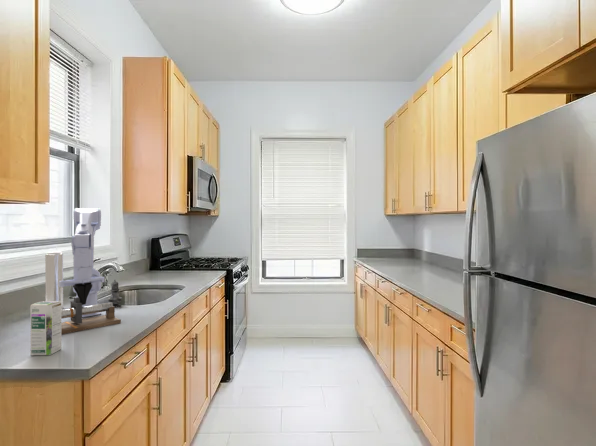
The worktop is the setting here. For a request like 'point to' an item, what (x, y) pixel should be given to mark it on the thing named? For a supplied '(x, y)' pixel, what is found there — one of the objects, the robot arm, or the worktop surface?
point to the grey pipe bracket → (77, 310)
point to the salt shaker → (115, 294)
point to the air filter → (54, 276)
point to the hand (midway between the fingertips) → (82, 304)
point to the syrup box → (45, 327)
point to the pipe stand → (89, 322)
